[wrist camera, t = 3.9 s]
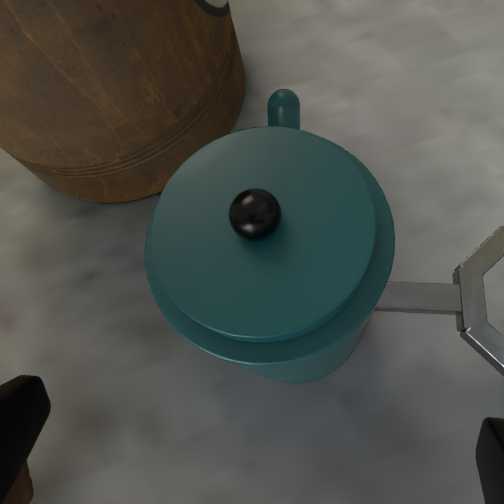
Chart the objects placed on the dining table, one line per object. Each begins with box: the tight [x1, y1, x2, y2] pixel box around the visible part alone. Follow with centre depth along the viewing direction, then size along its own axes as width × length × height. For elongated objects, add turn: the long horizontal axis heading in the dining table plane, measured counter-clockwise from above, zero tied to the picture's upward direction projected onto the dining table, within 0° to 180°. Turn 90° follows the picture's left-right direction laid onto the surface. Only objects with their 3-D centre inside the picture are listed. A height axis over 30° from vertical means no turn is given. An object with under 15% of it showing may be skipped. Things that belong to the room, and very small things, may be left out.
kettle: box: [145, 89, 504, 383], centre depth 14 cm, size 9×15×12 cm, turn 85°
